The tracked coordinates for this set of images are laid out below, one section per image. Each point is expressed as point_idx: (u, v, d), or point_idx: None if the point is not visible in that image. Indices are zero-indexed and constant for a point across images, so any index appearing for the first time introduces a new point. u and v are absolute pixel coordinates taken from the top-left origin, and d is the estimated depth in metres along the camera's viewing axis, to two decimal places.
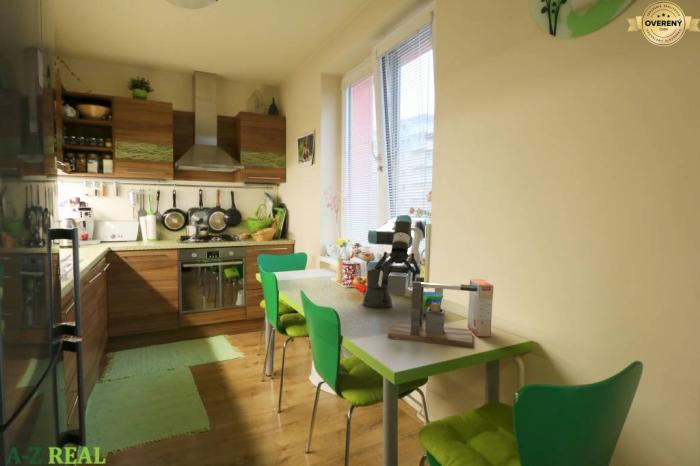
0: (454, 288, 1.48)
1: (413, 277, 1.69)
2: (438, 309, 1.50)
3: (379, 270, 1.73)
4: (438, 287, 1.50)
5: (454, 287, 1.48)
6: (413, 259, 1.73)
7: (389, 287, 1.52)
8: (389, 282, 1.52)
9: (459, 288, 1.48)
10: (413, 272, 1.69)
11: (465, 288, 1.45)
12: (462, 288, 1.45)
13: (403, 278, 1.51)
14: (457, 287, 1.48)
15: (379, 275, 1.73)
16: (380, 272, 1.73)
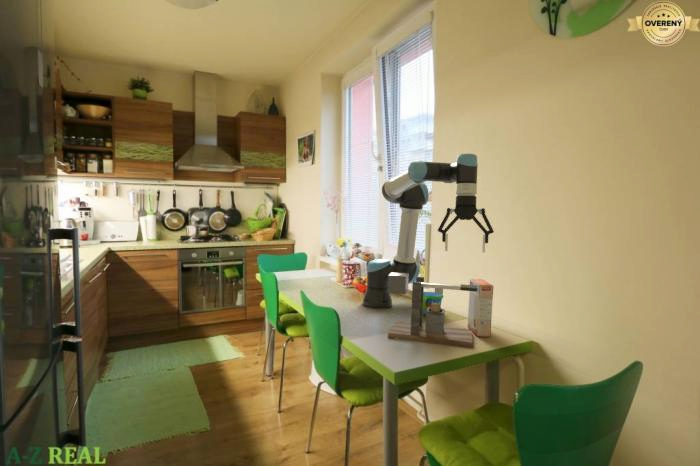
0: (454, 288, 1.48)
1: (486, 240, 1.45)
2: (438, 309, 1.50)
3: (444, 233, 1.48)
4: (438, 287, 1.50)
5: (454, 287, 1.48)
6: (484, 217, 1.44)
7: (389, 287, 1.52)
8: (389, 282, 1.52)
9: (459, 288, 1.48)
10: (486, 234, 1.44)
11: (465, 288, 1.45)
12: (462, 288, 1.45)
13: (403, 278, 1.51)
14: (457, 287, 1.48)
15: (444, 239, 1.49)
16: (445, 236, 1.48)
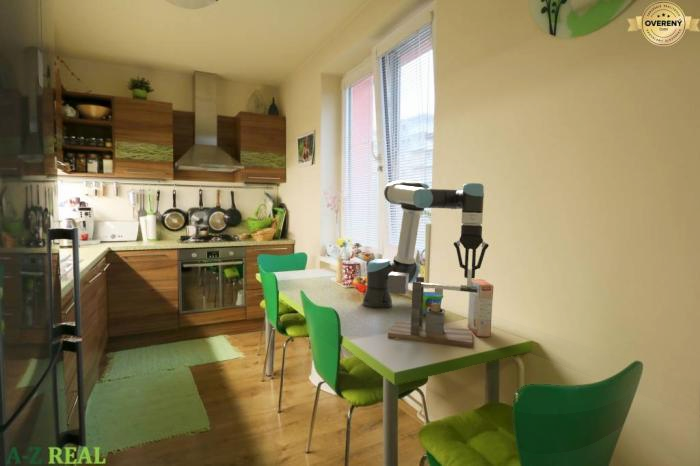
0: (454, 289, 1.48)
1: (472, 275, 1.46)
2: (438, 309, 1.50)
3: (467, 269, 1.46)
4: (438, 287, 1.50)
5: (454, 288, 1.48)
6: (483, 251, 1.44)
7: (389, 286, 1.52)
8: (389, 282, 1.52)
9: (459, 289, 1.48)
10: (472, 269, 1.46)
11: (465, 289, 1.45)
12: (462, 289, 1.45)
13: (403, 278, 1.51)
14: (457, 288, 1.48)
15: (466, 275, 1.47)
16: (468, 272, 1.46)
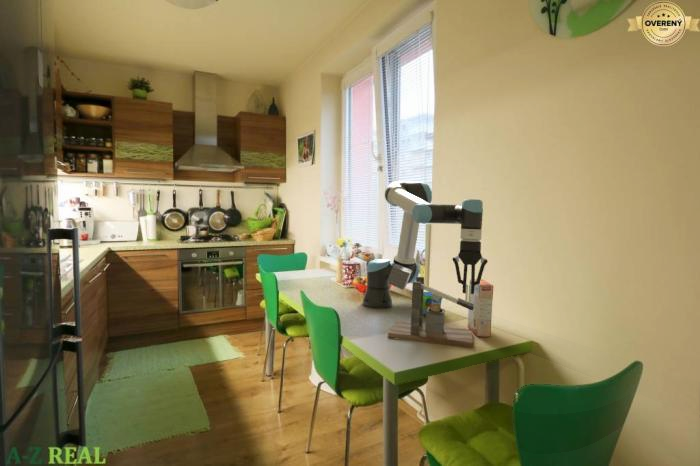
0: (451, 300, 1.49)
1: (472, 290, 1.47)
2: (438, 309, 1.50)
3: (465, 284, 1.47)
4: (436, 293, 1.50)
5: (452, 299, 1.49)
6: (482, 267, 1.45)
7: (390, 278, 1.52)
8: (391, 273, 1.52)
9: (456, 301, 1.48)
10: (471, 284, 1.46)
11: (462, 304, 1.46)
12: (459, 303, 1.46)
13: (406, 274, 1.50)
14: (454, 300, 1.48)
15: (465, 290, 1.47)
16: (466, 288, 1.46)
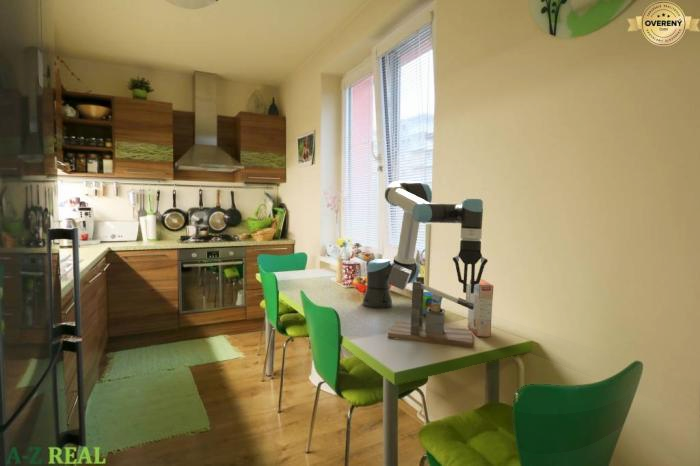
0: (451, 299, 1.49)
1: (472, 290, 1.47)
2: (438, 309, 1.50)
3: (466, 284, 1.47)
4: (436, 293, 1.50)
5: (452, 298, 1.49)
6: (482, 267, 1.45)
7: (390, 278, 1.52)
8: (391, 273, 1.52)
9: (456, 301, 1.48)
10: (471, 284, 1.46)
11: (462, 303, 1.46)
12: (459, 302, 1.46)
13: (406, 274, 1.50)
14: (455, 299, 1.48)
15: (465, 290, 1.47)
16: (466, 287, 1.46)
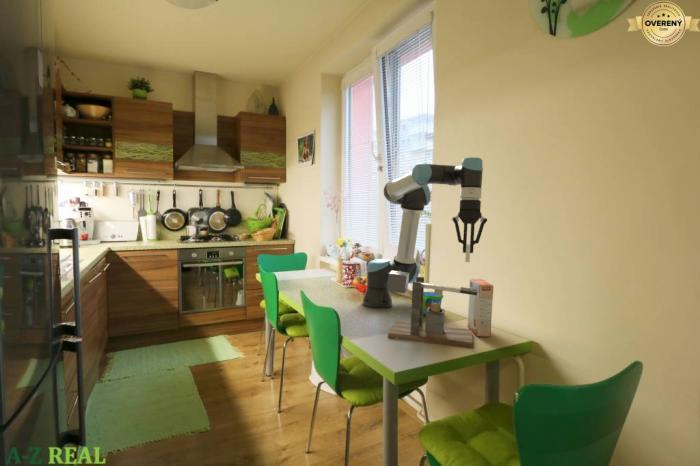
0: (454, 290, 1.48)
1: (471, 250, 1.46)
2: (438, 309, 1.50)
3: (466, 244, 1.46)
4: (438, 288, 1.50)
5: (454, 289, 1.48)
6: (481, 226, 1.44)
7: (389, 285, 1.52)
8: (389, 280, 1.52)
9: (459, 291, 1.48)
10: (470, 243, 1.46)
11: (465, 291, 1.45)
12: (462, 291, 1.45)
13: (403, 277, 1.50)
14: (457, 290, 1.48)
15: (465, 250, 1.47)
16: (466, 247, 1.46)
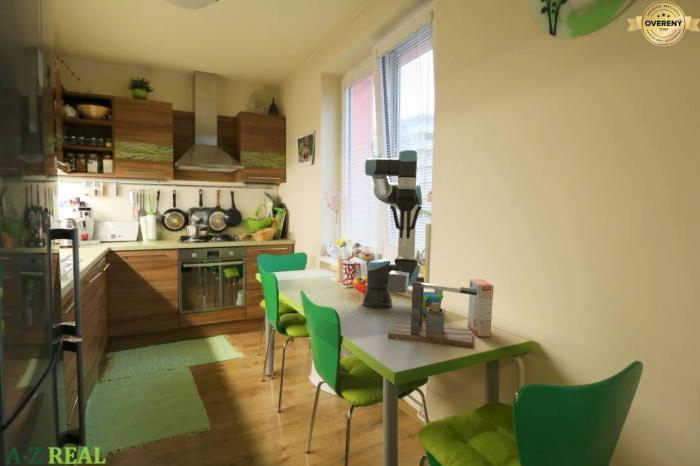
0: (454, 290, 1.48)
1: (407, 235, 1.59)
2: (438, 309, 1.50)
3: (402, 229, 1.58)
4: (438, 288, 1.50)
5: (454, 289, 1.48)
6: (416, 213, 1.57)
7: (389, 285, 1.52)
8: (389, 280, 1.52)
9: (459, 291, 1.48)
10: (406, 229, 1.58)
11: (465, 291, 1.45)
12: (462, 291, 1.45)
13: (403, 277, 1.50)
14: (457, 290, 1.48)
15: (402, 235, 1.59)
16: (403, 232, 1.58)
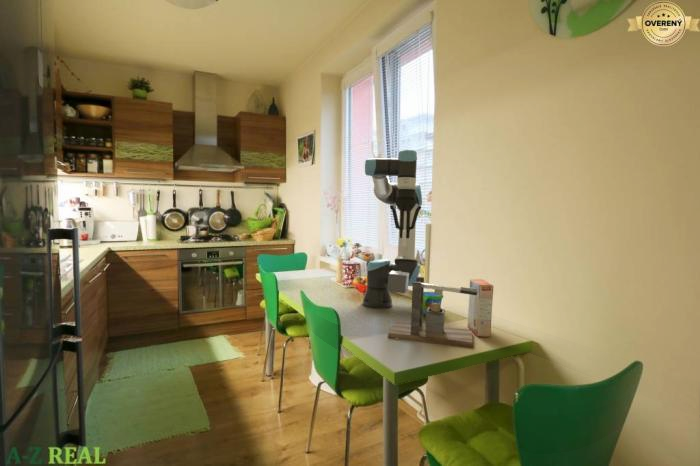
0: (454, 290, 1.48)
1: (407, 235, 1.59)
2: (438, 309, 1.50)
3: (402, 229, 1.58)
4: (438, 288, 1.50)
5: (454, 289, 1.48)
6: (416, 213, 1.57)
7: (389, 285, 1.52)
8: (389, 280, 1.52)
9: (459, 291, 1.48)
10: (406, 229, 1.58)
11: (465, 291, 1.45)
12: (462, 291, 1.45)
13: (403, 277, 1.50)
14: (457, 290, 1.48)
15: (402, 235, 1.59)
16: (402, 232, 1.58)
